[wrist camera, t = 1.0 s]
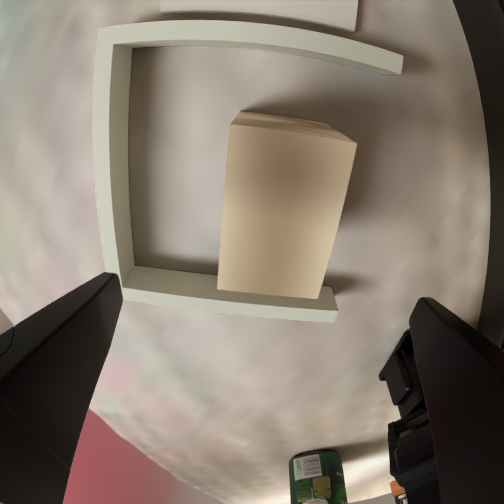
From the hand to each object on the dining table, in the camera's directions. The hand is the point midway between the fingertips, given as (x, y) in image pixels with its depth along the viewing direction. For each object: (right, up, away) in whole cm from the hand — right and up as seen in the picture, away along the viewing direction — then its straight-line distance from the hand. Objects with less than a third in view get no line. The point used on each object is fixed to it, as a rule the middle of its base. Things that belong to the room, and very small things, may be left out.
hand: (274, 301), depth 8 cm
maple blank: (+1, +6, +8) cm, 10 cm away
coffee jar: (+9, -30, +30) cm, 43 cm away
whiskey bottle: (+39, -54, +43) cm, 79 cm away
